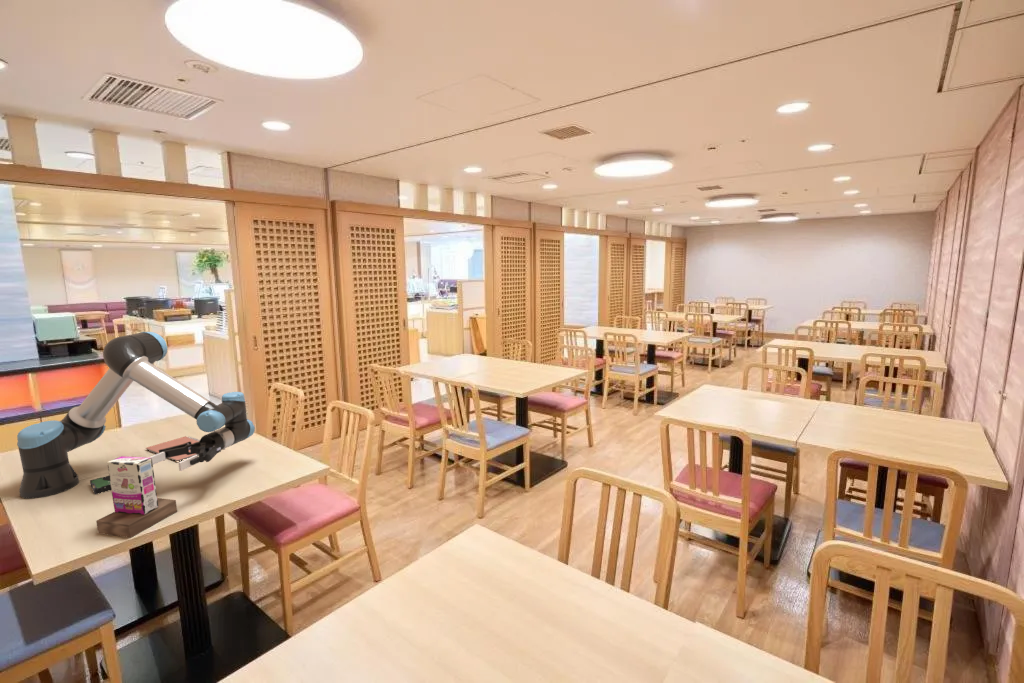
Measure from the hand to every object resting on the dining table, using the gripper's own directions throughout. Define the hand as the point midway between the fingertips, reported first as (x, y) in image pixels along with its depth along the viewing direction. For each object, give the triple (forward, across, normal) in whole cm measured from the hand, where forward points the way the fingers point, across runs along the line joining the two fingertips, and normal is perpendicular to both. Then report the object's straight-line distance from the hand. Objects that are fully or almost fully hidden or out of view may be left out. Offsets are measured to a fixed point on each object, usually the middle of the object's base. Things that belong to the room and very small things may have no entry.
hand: (162, 465), depth 152 cm
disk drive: (-10, +34, -15) cm, 38 cm away
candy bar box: (+10, 0, -10) cm, 14 cm away
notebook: (-42, +39, -15) cm, 59 cm away
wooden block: (+10, 0, -14) cm, 17 cm away
